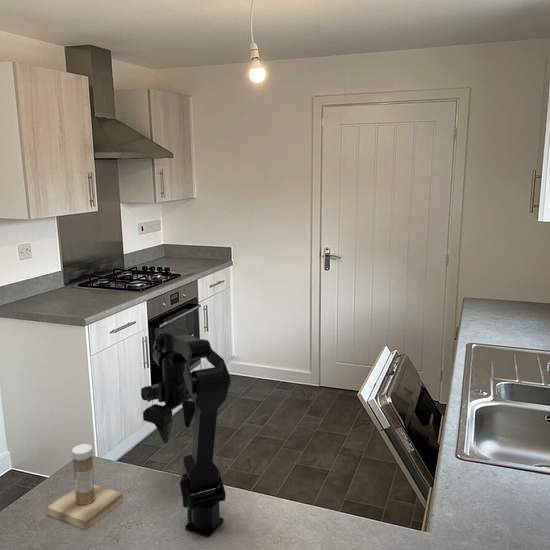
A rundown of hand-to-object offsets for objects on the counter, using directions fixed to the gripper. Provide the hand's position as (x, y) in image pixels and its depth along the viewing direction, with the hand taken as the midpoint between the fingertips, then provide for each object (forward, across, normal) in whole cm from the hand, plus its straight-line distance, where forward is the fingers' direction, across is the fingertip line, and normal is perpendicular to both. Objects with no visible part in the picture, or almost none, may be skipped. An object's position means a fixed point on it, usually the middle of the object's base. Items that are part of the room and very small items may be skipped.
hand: (176, 434), depth 138 cm
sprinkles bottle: (+11, +19, -13) cm, 26 cm away
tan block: (+13, +19, -13) cm, 26 cm away
